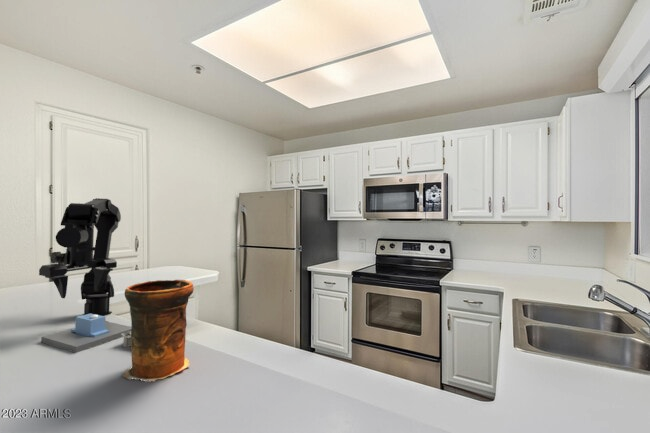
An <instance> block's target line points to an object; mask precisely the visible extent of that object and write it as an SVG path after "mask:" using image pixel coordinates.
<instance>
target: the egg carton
mask: <svg viewBox="0 0 650 433" xmlns="http://www.w3.org/2000/svg"><path fill="white" fill-rule="evenodd" d="M121 334H122V333H121ZM122 335H123V336H124V337H123V344H122V345H123V347H124V348H125V347H126V348H127V347H129V346H130V347H131V331H130V332H127V333H124V334H122Z"/></svg>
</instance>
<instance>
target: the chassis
mask: <svg viewBox="0 0 650 433" xmlns="http://www.w3.org/2000/svg"><path fill="white" fill-rule="evenodd" d="M73 328H74V327H72V328H68V329H65V330H61V331H58V332H53V333H50V334H46V335H42V336H40V337H41V341H40V342H41V343H43V344H47V345H50V346H53V347H57V348H59V349H63V350H66V351H70V352H73V353H79V352H83V351H85V350H88V349H91V348H94V347H97V346H100V345H103V344H105V343H108V342H112V341H114V340H117V339H120V338H124V336H123V335H122V334H124V333H127V332H130V331H131V328H132V326H130V325H126V324H125V325H124V324H119V323H115V322H111V321H107V320H105V330H109V331H110V333H107V334H104V335H100V336H97V337H90V338H89V337H85V336H82V335H78V334H75V332H73V331H71V329H73ZM121 333H122V334H121Z"/></svg>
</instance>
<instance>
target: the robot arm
mask: <svg viewBox="0 0 650 433" xmlns="http://www.w3.org/2000/svg"><path fill="white" fill-rule="evenodd" d="M121 215H122V214H121V212H120V209H119V207H117V206H116V205H115V204H113V203H112V201H111V199H109V198H93V199H92V200H90V201H86V202H85V203H80V202H78V203H77V202H76V203H74V202H70V203H69V204H68V206H66V207H65V210H64V212H63V216H62V219H61V221H60V227H61V226H64V227H63V228H60V229H59V230H58V231H57V233H56V235H55V241H56V243H57V244H58V245H59V246H61V247H63V248H66V252H64V253H63V252H61V251H53V252H51V253H50V263H51V264H45V265H44V264H43V265H41V266H40V268H39V269H38V272H39V273H38V276H42V277H44V278H45V279H46V278H47V279H50V280H51V281H52V282H53V283H54V285H55V288H56V289H57V291H58V293H59V296H60V298H61V299H65V298H66V296H67V289H68V281H69V275H66V274H67V273H68V272H74V271H80V270H82V271H83V270H87V269H88V270H89V269H90V270H89V271H87V272H86V273H85V274H84V276H83V281H82V282H81V285H80V295H81V300H82V301H83V300H85V303H84V307H83V308H84V310H83V312H84V313H82V315H86V314H90V313H91V314H96V315H100V316H107V315H109V314H110V315H111V314H113V311H110V300H111V298H114V297H115V289H114V284H113V283H112V278H111V276H110V274H109V273H111V272H112V271H113V270H114V269H115V268H117V266H118V265H117V264H118V262H117V260H116V259H115V258H110V249H111V242H112V235H113V233H114V232H115V231H116V229H118V227H119V223H120V222H121V220H122V216H121ZM95 229H96V238H95V243H94V236H95V235H94V234H95V232H94V230H95Z"/></svg>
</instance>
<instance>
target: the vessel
mask: <svg viewBox="0 0 650 433" xmlns="http://www.w3.org/2000/svg"><path fill="white" fill-rule="evenodd" d="M194 288H195V287H194V284H193V283H192V282H191V281H189V280H186V279H172V280H171V279H170V280H168V279H167V280H161V279H158V280H148V281H147V280H146V281H144V282H140V283H139V282H138V283H135V284H133V285H130V286H127V287H126V288H125V290H124V297H125V300H126V301H127V302H128V306H129V312H130V313H129V314H130V322H131V327H132V328H131V346H130V351H131V366H132V368H131V369H129V368H127V371H124V374H123V375H122V377H124V378H126V379H128V380H131V379H132V378H133V379H135V378H136V379H135V380H139V379H142V380H143V381H144V380H145V382H151V381H153V382H154V383H155V381H157V380H164V379H165V378H166V379H167V377H170V376H174V375H175V374H176V373H179V372H182V371H184V370H185V369H186V368H189V367H190V366H189V365H190V361H189V359H188V358H186V357H185V352H186V348H185V347H186V334H187V333H186V331H187V330H186V328H187V307H188V306H187V305H188V304H189V298H190V296H192V294H193V293H194ZM142 380H141V381H142ZM148 380H150V381H148ZM153 382H152V383H153Z"/></svg>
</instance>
